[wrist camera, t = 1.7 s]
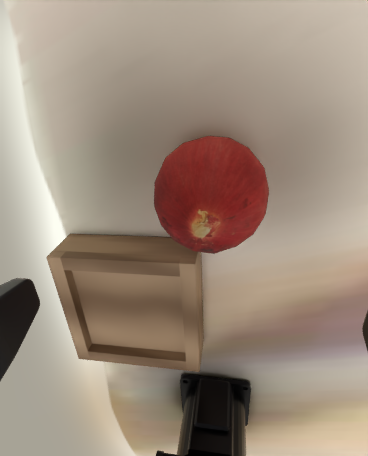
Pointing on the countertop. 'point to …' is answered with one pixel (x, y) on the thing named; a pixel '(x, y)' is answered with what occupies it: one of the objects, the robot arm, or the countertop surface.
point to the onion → (211, 194)
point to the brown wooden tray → (131, 299)
